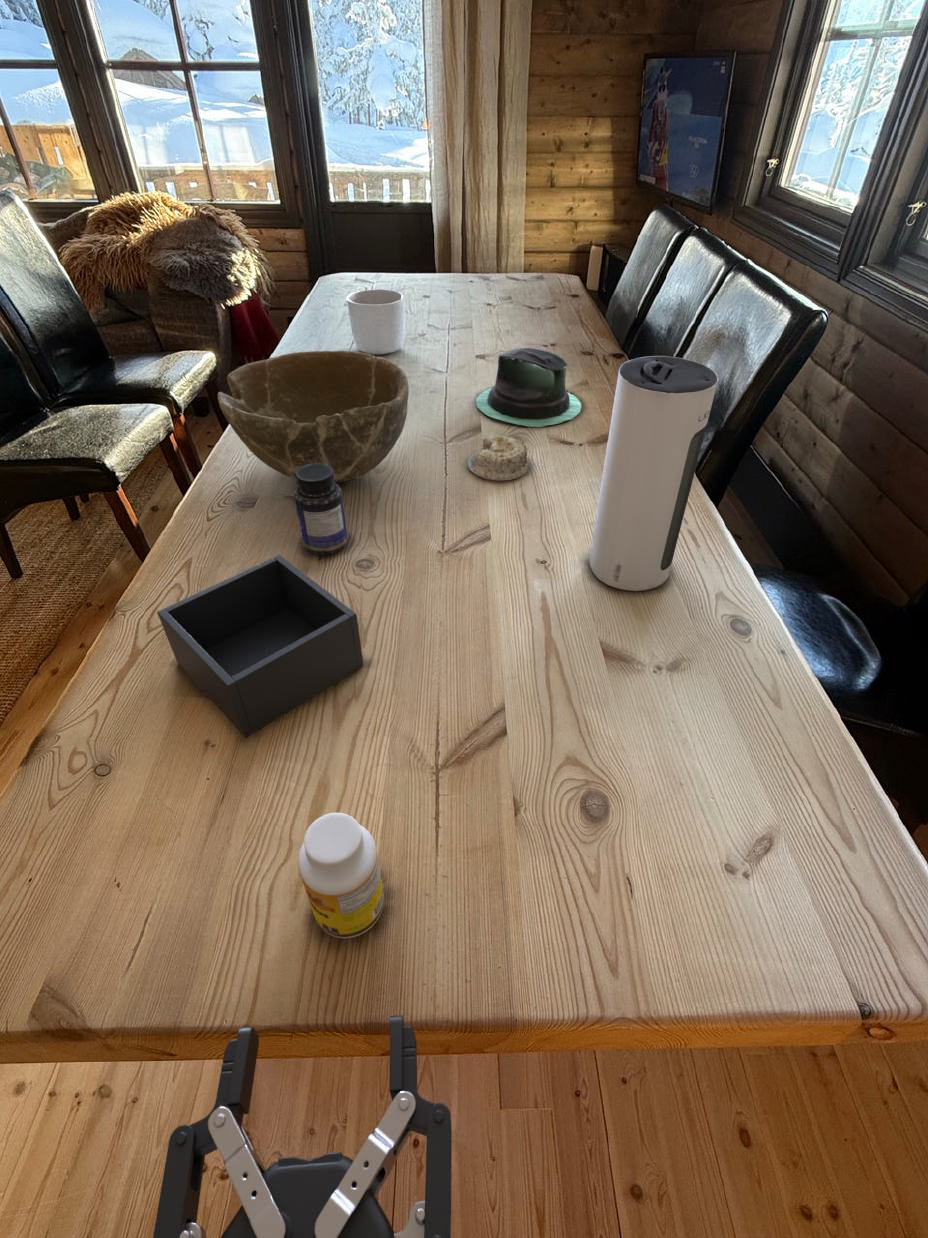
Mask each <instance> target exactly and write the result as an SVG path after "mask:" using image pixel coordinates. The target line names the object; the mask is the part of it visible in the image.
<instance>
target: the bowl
mask: <svg viewBox="0 0 928 1238" xmlns="http://www.w3.org/2000/svg"><path fill="white" fill-rule="evenodd" d="M226 380H227V384H228V386H229V390H230V392H231V396H230V395H229V394H226V393H224V392H222V391H219V392H218V393H217V401H218V405H219V408H220V410H221V412H222V414H223V416H224V417H225V419H226V421H227V422H228V424H229V426H230V427H231V428H232V430H233V431H234V432H235V434H236V435H237V436H238V438H239V439H240V441H241V442H242V443H243V444H244V446H246V447H247V449H248V450H249V452H251V453H252V454H253V455H254V456H255V457H256V458H257V459H258V460H259V461H260V462H262V463H263V464H265V465H266V466H268V468H269V467H270V468H271V469H272V470H275V472H278V473H280V474H282V475H284V476H287V477H289V478H293V479H295V480H297V479H296V471H297V470H298V469H299V468H301V467H302V466H305V465H308V464H314V463H321V464H326V465H328V466H330V467H331V468H332V469H333V473H334V481H333V482H335V483H336V484H337V483H343V482H347V481H351V480H355V479H357V478H360V477H363V476H364V475H366V474H368V473H369V472H371V471H372V470H373V469H375V468H376V467H377V466H379V465H380V464H381V463H382V462H383V461H384V459H386V458H387V456H388V455H389V454H390V452H391V451H392V449H394V447H395V445H396V443H397V442H398V440H399V439H400V437H401V435H402V433H403V430H404V428H405V424H406V420H407V416H408V415H407V414H408V401H409V393H410V388H409V381H408V377H407V375H406V373H405V371H404V370H403V368H401V367H400V366H398V365H397V364H396V363H394V362H392V361H390V360H389V359H387V358H385V357H381V356H376V357H375V354H369V353H365V352H362V351H351V350H333V351H332V350H310V351H300V352H298V351H297V352H292V353H286V354H281V355H278V356H274V357H269V358H267V359H262V360H257V361H253V362H250V363H246V364H244V365H242V366H239V367H238V368H236V369H235V370H232V371H231V372H229V374H228V375H227V376H226Z"/></svg>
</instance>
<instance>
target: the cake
mask: <svg viewBox="0 0 928 1238" xmlns="http://www.w3.org/2000/svg"><path fill="white" fill-rule="evenodd" d="M480 449H481V450H480V451H477V452H475V453H473V454H472V455H470V457H469V458H468V460H467V467H468V469H469V471H471V472H472V473H474V475H476V476H478V477H480V478H483V479H486V480H490V481H491V480H492V481H500V482H503V481H504V482H505V481H511V480H516V479H518V478H521V477H523V476H524V475H525V474H527V472H528V471H529V469H530V467H529V463H528V458H527V457H528V453H527V450H528V448H527V446H526V445H525V443H524V441H521V440H519V439H518V438H517V439H515V438H514V437H513V436H508V435H495V434H494V435H487V436H485V437H483V438H482V447H481V448H480Z"/></svg>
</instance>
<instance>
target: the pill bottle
mask: <svg viewBox="0 0 928 1238" xmlns="http://www.w3.org/2000/svg"><path fill="white" fill-rule="evenodd" d="M295 480H296V485H298V486H297V488H296V489H295V491H294V495H293V497H294V503H295V508H296V513H297V519H298V524H299V530H300V535H301V539H302V544H303V547H304V549H305V550H306V551H307V552H308V553H310V554H312V555H316V556H331V555H334V554H337V553H339V552H341V551H342V550H344V549H345V548H346V546H347V544H348V542H349V534H348V527H347V518H346V512H345V511H346V510H345V505H344V498H343V492H342V488H341V487H340V486H339V484H337V482H336V483H335V482H333V481H334V473H333V469H332V468H331V467H330V466H328V465H326V464H321V463H314V464H308V465H305V466H302V467H301V468H299V469H298V470H297V471H296V479H295Z"/></svg>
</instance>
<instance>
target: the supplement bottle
mask: <svg viewBox="0 0 928 1238" xmlns="http://www.w3.org/2000/svg"><path fill="white" fill-rule="evenodd" d="M378 855H379V854H378V850H377V844H376V843H375V839H374V837H373V835H372V834H371V832H370V831H369V830H368V829H367V828H366V827H364V826H363V825H362V824H359V822H358V820H356V819H355V818H354V817H353V816H351V815H350V814H346V813H343V812H331V813H327V814H323V815H322V816H320V817H318V818H316V819H315V820H314V821H313V822H312V823H311V824H310V825H309V827H308V828H307V829H306V831H305V834H304V838H303V843H302V845H301V847H300V849H299V852H298V856H297V857H298V859H297V864H298V865H297V866H298V872H299V875H300V878H301V881H302V885H303V887H304V890H305V893H306V896H307V899H308V902H309V904H310V908H311V911H312V914H313V916H314V918H315V921H316V923H317V925H318V926H319V928H321V930H323V931H324V932H325V933H326V934H328V935H330V936H331V937H333V938H334V937H335V938H337V939H351V938H356V937H358V936H361V935H363V934H364V933H366V932H367V931H369V930H370V929H372V927H373V926H374V925H375V924H376V923H377V921H378V920H379V919H380V916H381V914H382V912H383V909H384V905H385V892H384V886H383V880H382V874H381V868H380V862H379V856H378Z"/></svg>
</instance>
